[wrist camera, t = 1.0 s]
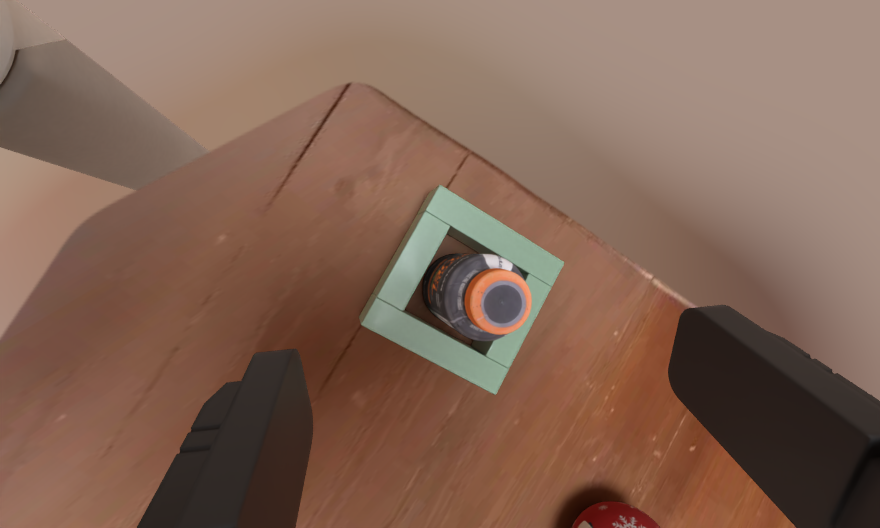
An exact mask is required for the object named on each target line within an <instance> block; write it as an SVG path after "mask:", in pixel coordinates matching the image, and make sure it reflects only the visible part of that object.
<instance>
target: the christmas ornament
mask: <svg viewBox="0 0 880 528" xmlns="http://www.w3.org/2000/svg"><path fill="white" fill-rule="evenodd" d="M572 528H660V527H659V526H658V524H657V523H656V522H655V521H654V520H653V519H652V518H650V517H649V516H648V515H647V514H645V513H644V512H642V511H641V510H639V509H638V508H636V507H633V506H631V505H629V504H626V503H622V502H616V501H606V502H600V503H597V504H594V505H592V506H590V507H588V508H587V509H585V510H584V511H583V512H582V513H581V514H580V515H579V516H578V517H577V519H576V520H575V522H574V524H573V526H572Z"/></svg>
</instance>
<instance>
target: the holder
mask: <svg viewBox="0 0 880 528" xmlns="http://www.w3.org/2000/svg"><path fill="white" fill-rule="evenodd" d="M446 234H448V235H450V236H452V237H453V238H455V239H457V240H458V241H460V242H462V243H463V244H465V245H467V246H468V247H470V248H472V249H473V250H475V251H477V252H478V253H480V254H492V255H497V256H500V257H502V258H505V259H507V260H508V261H510V262H511V263H513V264H514V265H515V266H516V267H517V268H518V270H519V271H520V273H521V274H522V276H523V278H524V280H525V282H526V283H527V285H528V287H529V289H530V292H531V297H532V306H531V311H530V314H529V316H528V318H527V320H526V321H525V322H524V324H523V325H522V326H521V327H520V328H518V329H517V330H515V331H513V332H511V333H509V334H508V335H506V336H504V337H502V338H500V339H497V340H493V341H476V340H474V341H473V342H472V344H471V346H470V345H468V344H466V343H465V342H463V341H461V340H459V339H457V338H455V337H454V336H452V335H450V334H448V333H446V332H444V331H442V330H441V329H439V328H437V327H435V326H433V325H431V324H430V323H428V322H426V321H424V320H422V319H420V318H418V317H417V316H415V315H413V314H411V313H409V312H407V311H406V310H404V309H405V308H406V306H407V304H408V302H409V300H410V299H411V297H412V295H413V293H414V291H415V290H416V288H417V286H418V284H419V282H420V281H421V279H422V277H423V275H424V273H425V272H426V270H427V268H428V266H429V264H430V263H431V261H432V259H433V257H434V255H435V254H436V252H437V250H438V248H439V246H440V245H441V243H442V241H443V239H444V237H445V236H446ZM563 265H564V262H563V261H562V260H560V259H558V258H557V257H555V256H554V255H552V254H550V253H549V252H547V251H546V250H544V249H542V248H541V247H539V246H538V245H536V244H534V243H533V242H531V241H530V240H528V239H526V238H525V237H523V236H522V235H520V234H518V233H517V232H515V231H514V230H512V229H510V228H509V227H507V226H506V225H504V224H502V223H501V222H499V221H498V220H496V219H494V218H493V217H491V216H490V215H488V214H486V213H485V212H483V211H482V210H480V209H478V208H477V207H475V206H474V205H472V204H470V203H469V202H467V201H466V200H464V199H462V198H461V197H459V196H458V195H456V194H454V193H453V192H451V191H450V190H448V189H446V188H445V187H443V186H442V185H439V186H438V187H436V188H435V189H433V190H432V191H431V192H429V194H428V196H427V197H426V199H425V201H424V203H423V204H422V206H421V208H420V210H419V212H418V213H417V216H416V217H415V219H414V220H413V222H412V224H411V226H410V227H409V229H408V231H407V233H406V235H405V236H404V238H403V240H402V242H401V243H400V245H399V247H398V249H397V250H396V252H395V254H394V256H393V258H392V259H391V261H390V263H389V265H388V266H387V268H386V270H385V272H384V273H383V275H382V277H381V279H380V281H379V282H378V284H377V286H376V288H375V289H374V291H373V293H372V295H371V296H370V298H369V300H368V302H367V303H366V305H365V307H364V309H363V311H362V312H361V314H360V316H359V319H360V323H361V325H362V326H364V327H366V328H368V329H370V330H371V331H373V332H375V333H377V334H379V335H381V336H383V337H385V338H387V339H389V340H391V341H393V342H395V343H396V344H398V345H400V346H402V347H404V348H406V349H408V350H410V351H412V352H414V353H416V354H418V355H420V356H421V357H423V358H425V359H427V360H429V361H431V362H433V363H435V364H437V365H439V366H441V367H443V368H445V369H446V370H448V371H450V372H452V373H454V374H456V375H458V376H460V377H462V378H464V379H466V380H468V381H469V382H471V383H473V384H475V385H477V386H479V387H481V388H483V389H485V390H487V391H489V392H491V393H493V394H494V395H496V393H497V391H498V389H499V387H500V385H501V384H502V382H503V380H504V378H505V376H506V374H507V372H508V370H509V369H508V368H510V366H511V364H512V362H513V360H514V358H515V357H516V355H517V353H518V351H519V349H520V347H521V345H522V343H523V341H524V339H525V337H526V335H527V333H528V332H529V330H530V328H531V326H532V324H533V322H534V320H535V318H536V316H537V314H538V312H539V310H540V309H541V307H542V305H543V303H544V301H545V299H546V297H547V295H548V293H549V291H550V289H551V287H552V286H553V284H554V282H555V280H556V278H557V276H558V274H559V272H560V270H561V268H562V267H563Z"/></svg>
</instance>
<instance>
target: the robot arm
mask: <svg viewBox="0 0 880 528" xmlns="http://www.w3.org/2000/svg"><path fill="white" fill-rule="evenodd" d="M668 376H669V381H670V384H671V387H672V389H673V391H674V393H675V395H676V396H677V397H678V399H679V400H680V401H681V402H682V403H683V404H684V405H685V406H686V407H687V408H688V409H689V411H690V412H691V413H692V414H693V415H694V416H695V417H696V418H697V419H698V420H699V422H700V423H701V424H702V425H703V426H704V427H705V428H706V429H707V430H708V431H709V432H710V434H711V435H712V436H713V437H714V438H715V439H716V440H717V441H718V442H719V443H720V444H721V446H722V447H723V448H724V449H725V450H726V451H727V452H728V453H729V454H730V455H731V457H732V458H733V459H734V460H735V461H736V462H737V463H738V464H739V465H740V466H741V467H742V469H743V470H744V471H745V472H746V473H747V474H748V475H749V476H750V477H751V478H752V479H753V481H754V482H755V483H756V484H757V485H758V486H759V487H760V488H761V489H762V490H763V492H764V493H765V494H766V495H767V496H768V497H769V498H770V499H771V500H772V501H773V502H774V504H775V505H776V506H777V507H778V508H779V509H780V510H781V511H782V512H783V513H784V514H785V516H786V517H787V518H788V519H789V520H790V521H791V522H792V523H793V524H794V525H795V527H796V528H880V401H879V400H878V399H876V398H875V397H873V396H872V395H870V394H868V393H867V392H865V391H864V390H862V389H861V388H859V387H858V386H856V385H855V384H853V383H852V382H850V381H849V380H847V379H845V378H844V377H843V376H841V375H839V374H838V373H837V374H833V373H832V369H830V368H829V367H827V366H826V365H824V364H823V363H821V362H820V361H818V360H817V359H811V358H810V355H809V354H807V353H806V352H804V351H803V350H801V349H800V348H798V347H797V346H795V345H794V344H792V343H791V342H789V341H788V340H786V339H784V338H782V337H780V336H778V335H775V334H773V333H770V332H768V331H766V330H764V329H763V328H761V327H760V326H758V325H757V324H755V323H754V322H752V321H751V320H749V319H748V318H746V317H744V316H743V315H742V314H740V313H739V312H737V311H735V310H734V309H732V308H731V307H729V306H726V305H717V306H707V307H698V308H689V309H686V310H685V311H683V313H682V314H681V316H680V319H679V323H678V327H677V332H676V336H675V340H674V345H673V349H672V354H671V358H670V363H669V368H668ZM312 437H313V416H312V409H311V404H310V399H309V395H308V390H307V385H306V381H305V376H304V372H303V367H302V362H301V358H300V355H299V352H298V350H297V349H287V350H277V351H268V352H258V353H255V354H254V355H253V357H252V359H251V361H250V363H249V365H248V368H247V370H246V372H245V374H244V376H243V378H242V381H237V382H228V383H226V384H225V385H224V386H222V387H221V388H220V389H219V390H218V391H217V392H216V393H215V394H214V395H213V396H212V397H211V398H210V399H209V400H208V401H206V402H205V403H204V405H203V407H202V409H201V410H200V412H199V414H198V416H197V418H196V420H195V421H194V423H193V425H192V427H191V432H190V433H188V434H187V436H186V438H185V440H184V442H183V444H182V445H181V447H180V453H179V454H177V455H176V456H175V458H174V460H173V462H172V464H171V466H170V467H169V469H168V471H167V473H166V475H165V477H164V479H163V480H162V482H161V484H160V486H159V488H158V490H157V491H156V493H155V495H154V497H153V499H152V501H151V502H150V504H149V506H148V508H147V510H146V512H145V514H144V515H143V517H142V519H141V521H140V523H139V525H138V526H137V528H295V527H296V522H297V517H298V511H299V506H300V501H301V496H302V491H303V485H304V480H305V475H306V470H307V465H308V459H309V454H310V449H311V444H312Z"/></svg>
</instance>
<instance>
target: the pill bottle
mask: <svg viewBox="0 0 880 528" xmlns="http://www.w3.org/2000/svg"><path fill="white" fill-rule="evenodd" d="M423 297H424V300H425V303H426V305H427V307H428V308H429V310H430V311H431V312H432V314H434V315H435V316H436V317H437V318H439V319H440V320H442V321H443V322H445V323H446V324H448V325H449V326H450V327H452V328H453V329H455V330H456V331H458V332H459V333H460V334H462V335H464V336H465V337H467V338H470V339H473V340H476V341H493V340H497V339H500V338H502V337H504V336H506V335H508V334H509V333H511V332H513V331H515V330H517V329H518V328H520V327H521V326H522V325H523V324H524V322H525V321H526V320H527V318H528V316H529V314H530V311H531V306H532V297H531V292H530V289H529V287H528V285H527V283H526V282H525V280H524V278H523V276H522V274H521V273H520V271H519V270H518V268H517V267H516V266H515V265H514V264H513V263H511V262H510V261H508V260H507V259H505V258H502V257H500V256H497V255H492V254H449V255H446V256H443V257H441V258H439V259H438V260H436V261H435V262H434V263H433V264H432V265H431V266H430V268H429V269H428V270H427V272H426V274H425V277H424V280H423Z"/></svg>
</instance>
